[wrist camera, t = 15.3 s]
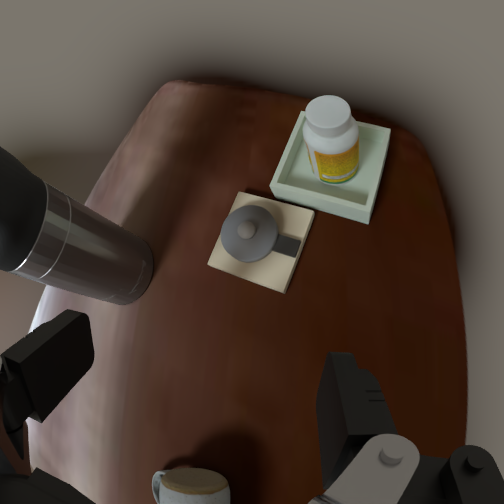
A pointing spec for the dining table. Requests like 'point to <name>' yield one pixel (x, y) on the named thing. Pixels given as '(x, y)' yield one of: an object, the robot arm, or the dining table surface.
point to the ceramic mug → (190, 487)
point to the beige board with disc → (262, 240)
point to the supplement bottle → (331, 140)
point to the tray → (327, 196)
